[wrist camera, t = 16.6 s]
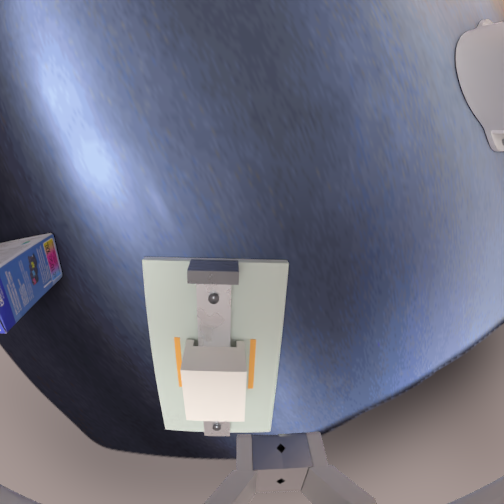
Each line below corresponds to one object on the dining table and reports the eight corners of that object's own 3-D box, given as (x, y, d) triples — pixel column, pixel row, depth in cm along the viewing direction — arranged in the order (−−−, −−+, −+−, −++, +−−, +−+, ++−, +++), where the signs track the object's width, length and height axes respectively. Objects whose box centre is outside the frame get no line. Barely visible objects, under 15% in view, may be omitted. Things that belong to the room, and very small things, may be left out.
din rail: (238, 260, 30) (239, 271, 27) (234, 427, 36) (234, 444, 34) (191, 259, 29) (187, 270, 26) (200, 427, 36) (199, 443, 33)
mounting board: (287, 259, 31) (289, 263, 30) (269, 426, 38) (270, 432, 37) (144, 256, 30) (141, 260, 29) (166, 424, 37) (165, 429, 36)
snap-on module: (244, 340, 32) (246, 371, 27) (242, 390, 34) (244, 422, 29) (186, 339, 31) (180, 369, 26) (190, 389, 34) (186, 420, 29)
